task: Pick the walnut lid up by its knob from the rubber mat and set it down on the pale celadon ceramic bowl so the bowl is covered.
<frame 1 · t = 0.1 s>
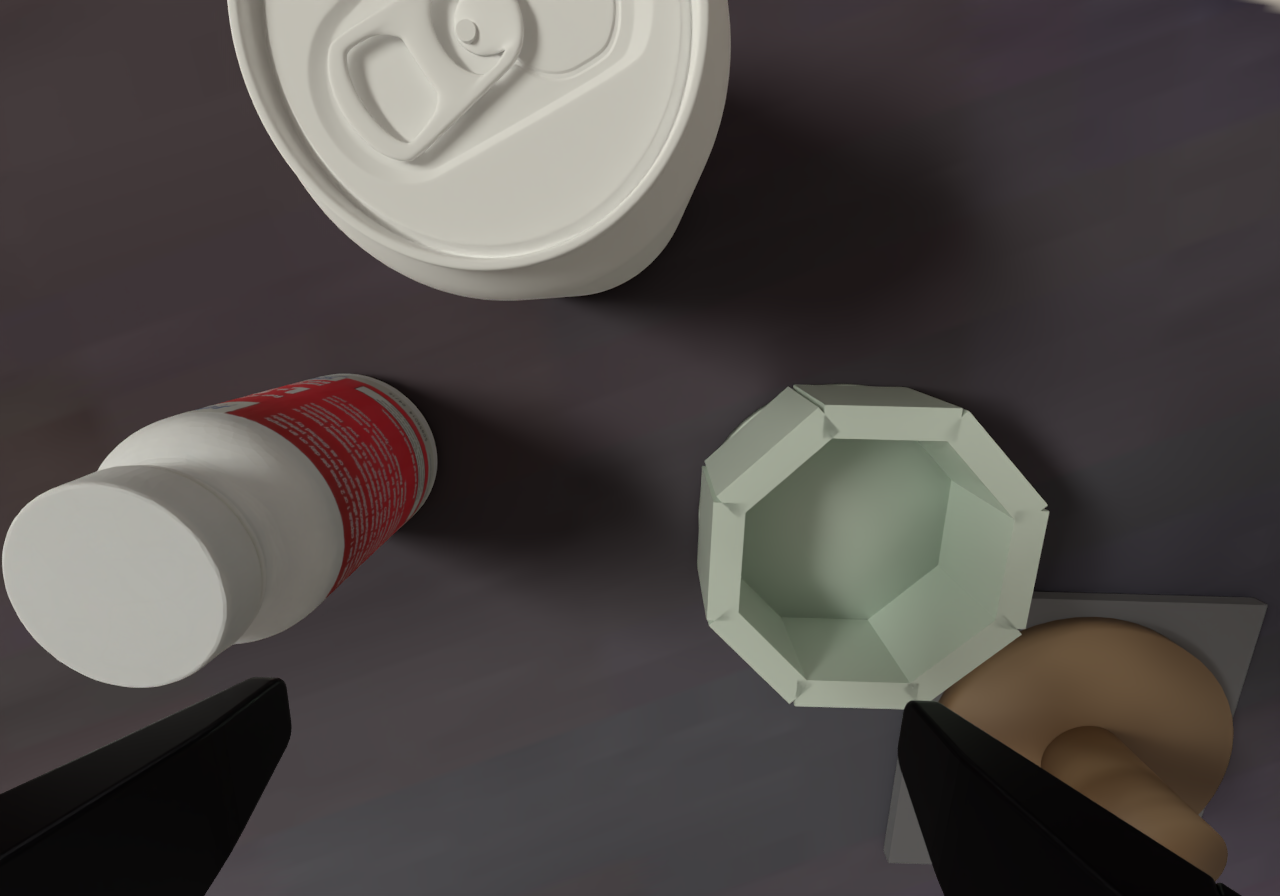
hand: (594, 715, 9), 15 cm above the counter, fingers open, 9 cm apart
bowl: (830, 514, 23), on the counter
mat: (1056, 732, 26), on the counter
beverage can: (570, 173, 21), on the counter
lid: (1065, 742, 25), point 1 cm above the counter, touching mat
pill bottle: (363, 451, 23), on the counter
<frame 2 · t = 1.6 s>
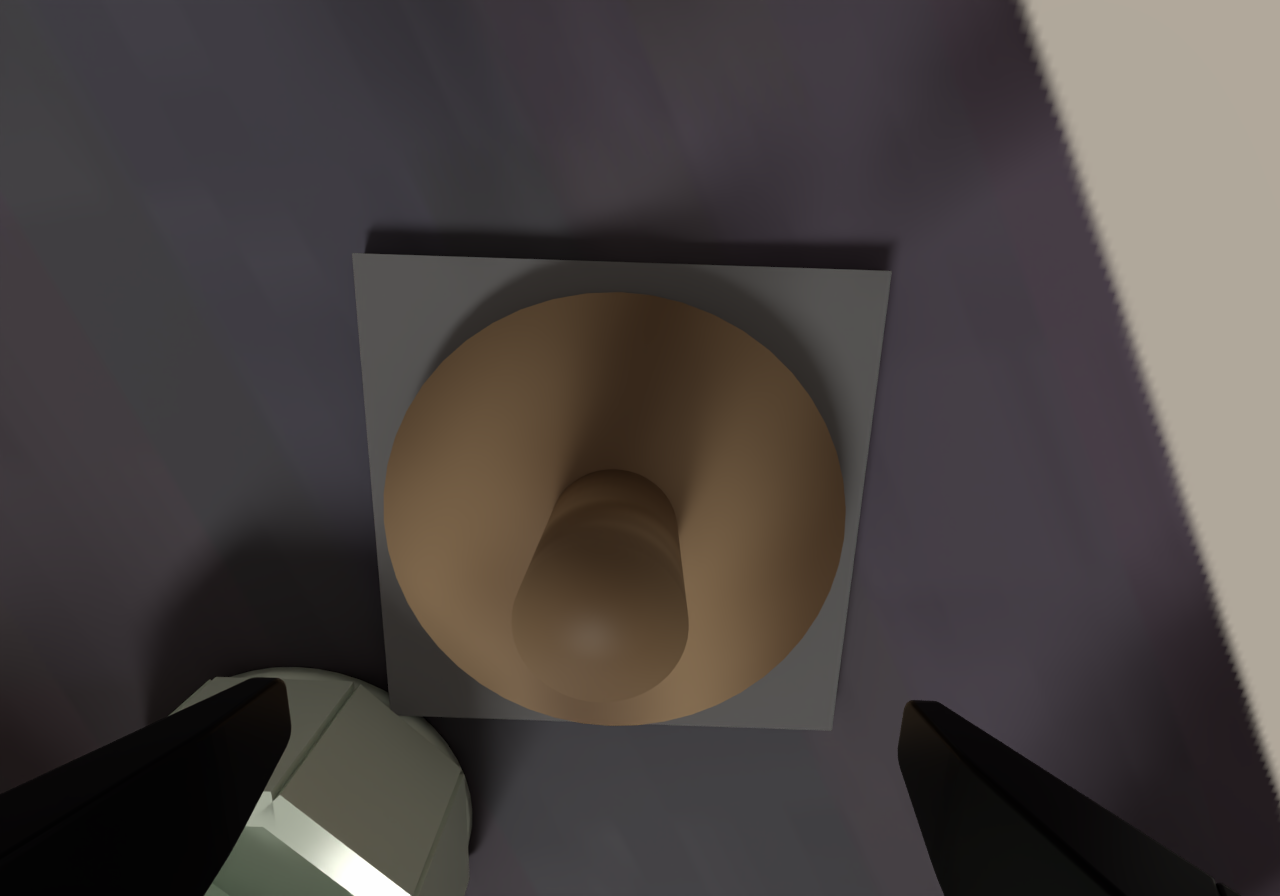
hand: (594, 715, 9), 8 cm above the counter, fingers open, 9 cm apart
bowl: (313, 806, 20), on the counter
mat: (616, 507, 17), on the counter
lid: (615, 515, 16), point 1 cm above the counter, touching mat
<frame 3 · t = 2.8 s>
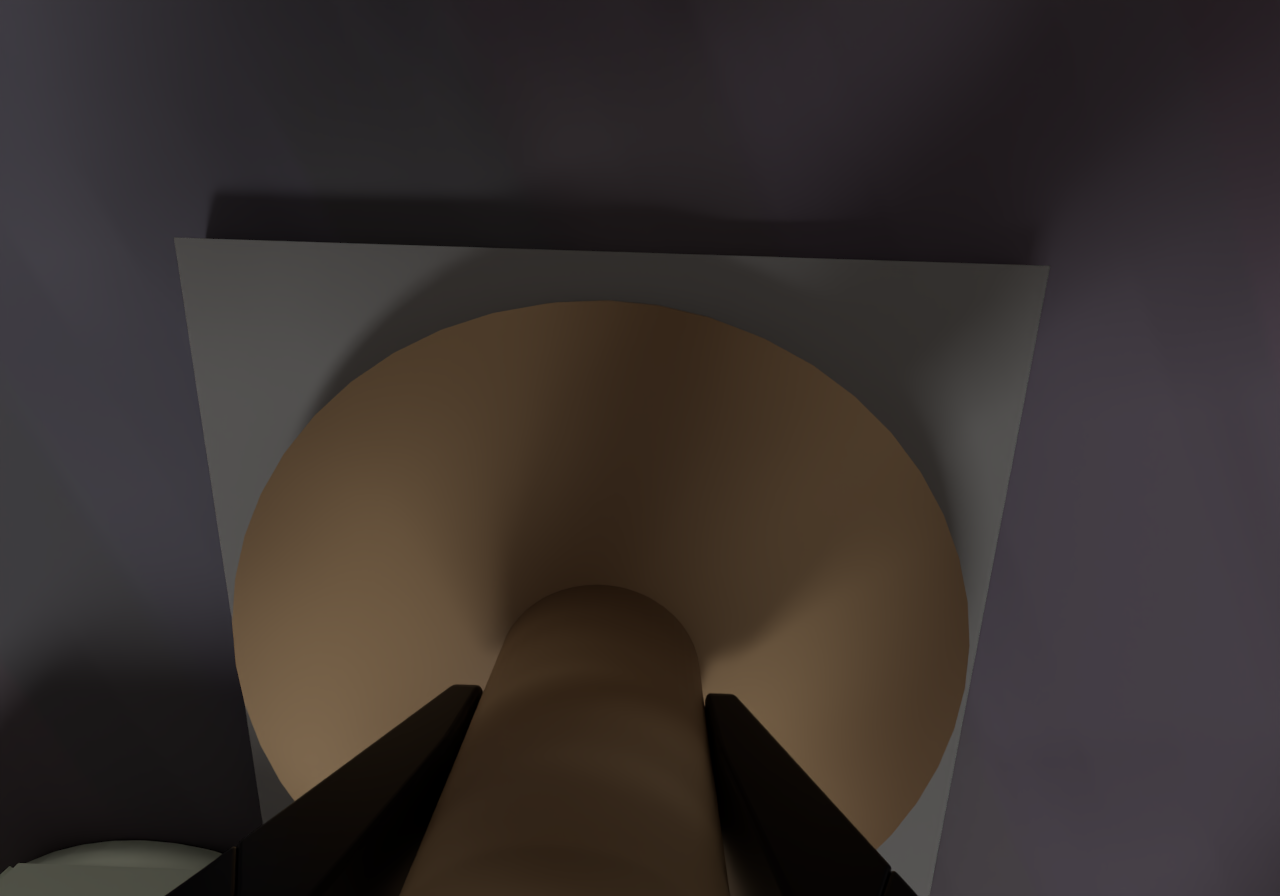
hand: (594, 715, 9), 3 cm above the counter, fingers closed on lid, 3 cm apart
mat: (605, 623, 11), on the counter
lid: (603, 641, 11), point 1 cm above the counter, touching gripper, mat
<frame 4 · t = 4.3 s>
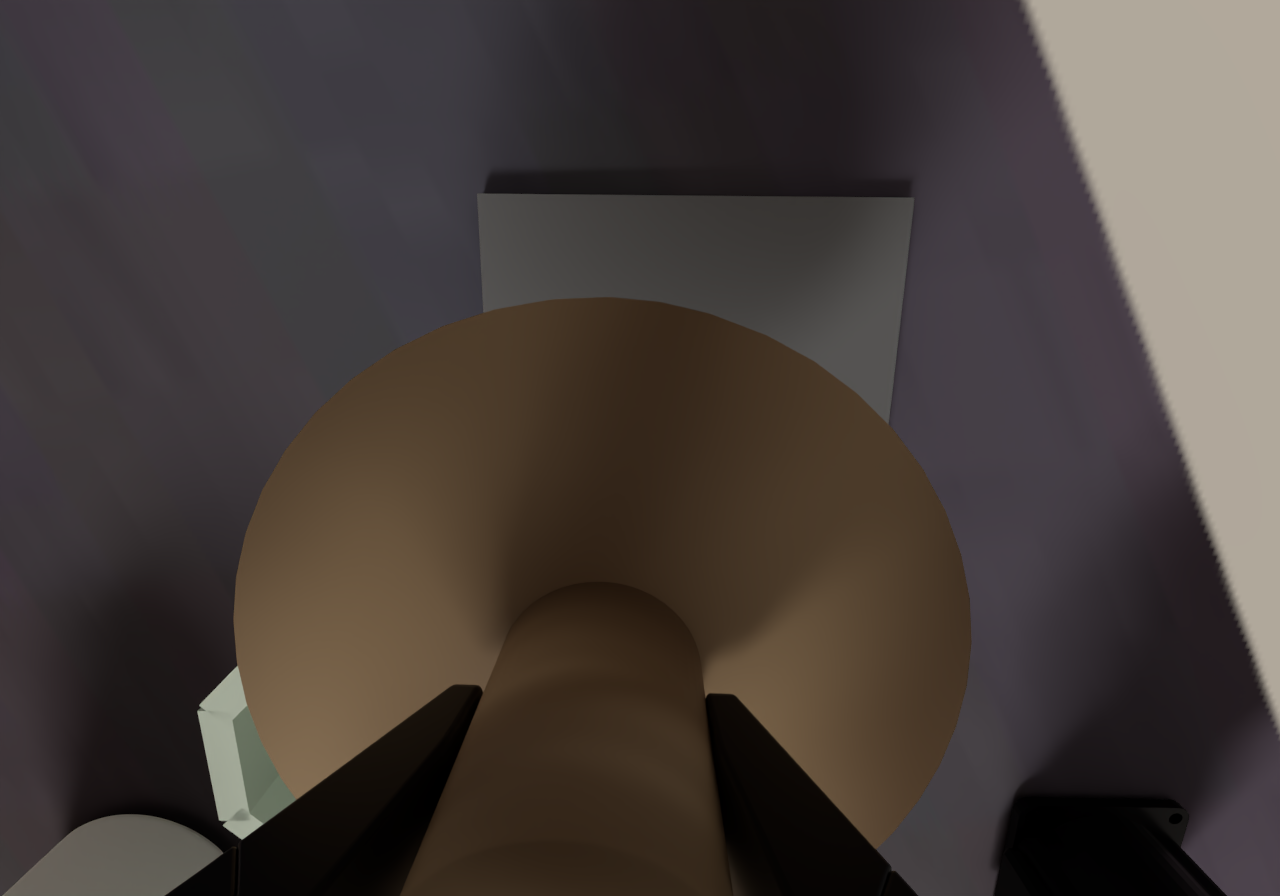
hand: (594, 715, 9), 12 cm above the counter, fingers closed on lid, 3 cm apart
bowl: (427, 677, 23), on the counter
mat: (687, 407, 20), on the counter
beverage can: (165, 875, 26), on the counter
lid: (604, 638, 11), point 11 cm above the counter, touching gripper
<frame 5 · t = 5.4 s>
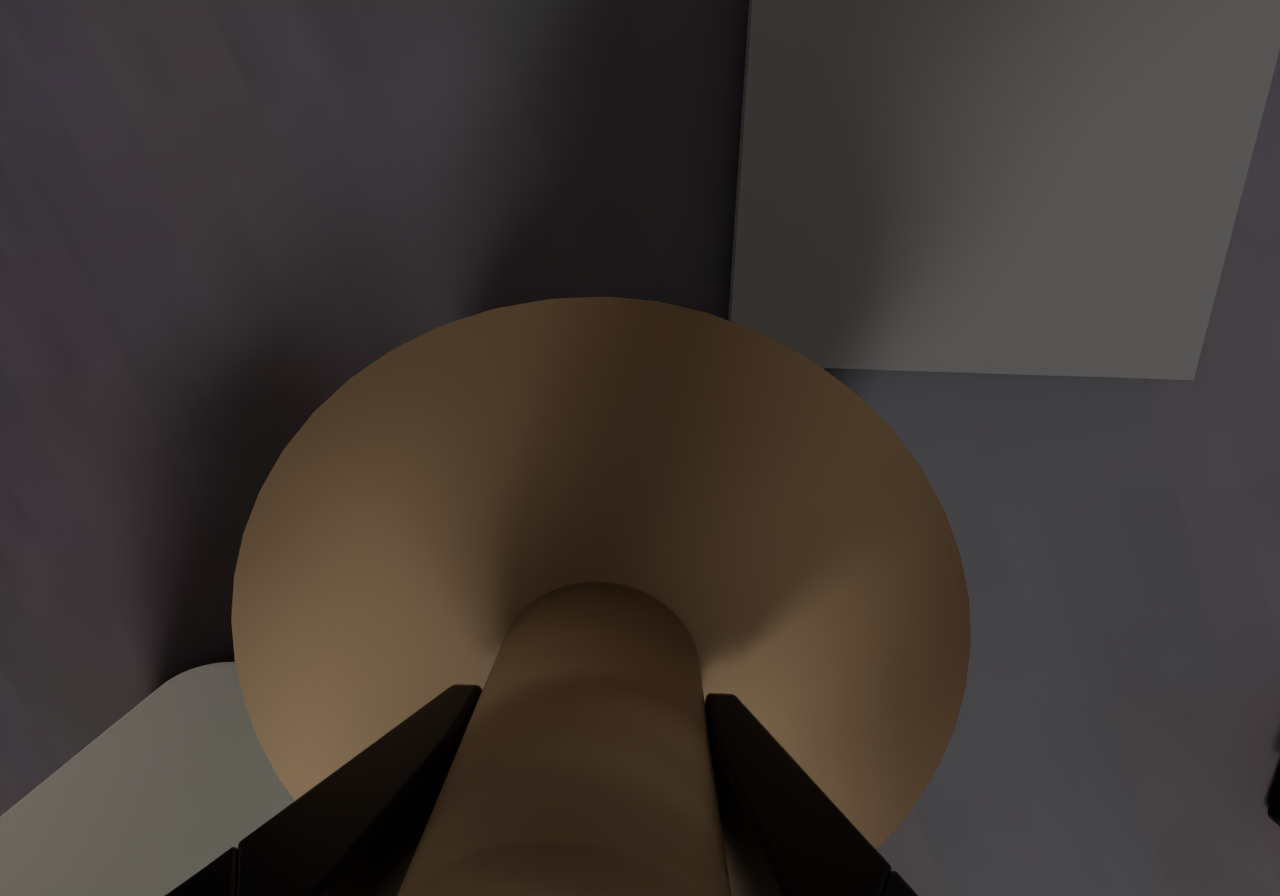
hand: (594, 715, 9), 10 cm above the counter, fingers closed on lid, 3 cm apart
mat: (989, 121, 16), on the counter
beverage can: (270, 748, 21), on the counter
lid: (603, 638, 11), point 8 cm above the counter, touching gripper
when the fingers open (8 cm above the counter, at t = 6.0 s): lid drops 1 cm, resting on bowl.
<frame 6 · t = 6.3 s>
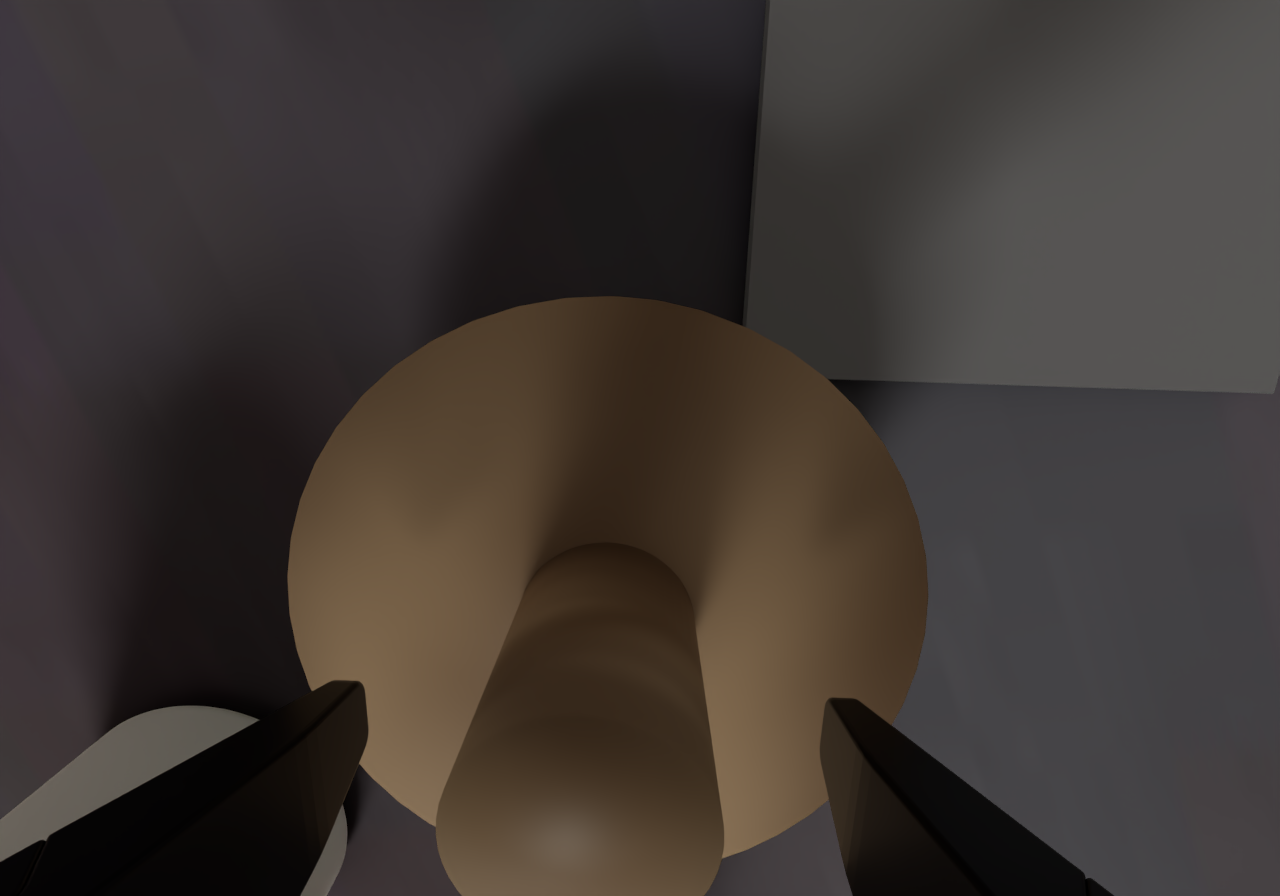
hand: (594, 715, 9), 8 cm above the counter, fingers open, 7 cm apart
mat: (1044, 97, 14), on the counter
beverage can: (233, 797, 19), on the counter
lid: (609, 597, 12), point 5 cm above the counter, touching bowl
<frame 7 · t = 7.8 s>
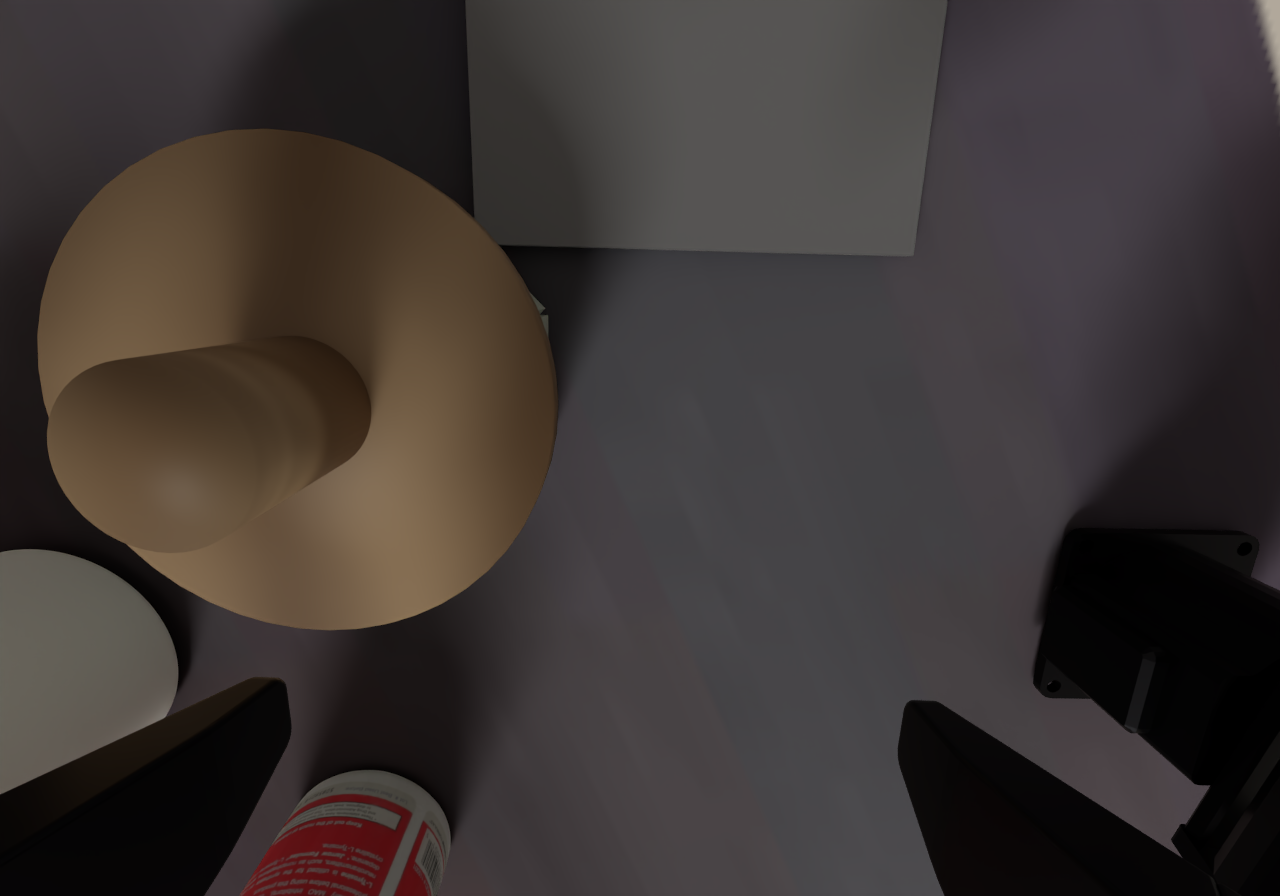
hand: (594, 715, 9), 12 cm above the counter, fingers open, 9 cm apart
mat: (705, 5, 17), on the counter
beverage can: (80, 642, 22), on the counter
lid: (322, 398, 15), point 5 cm above the counter, touching bowl
pill bottle: (379, 822, 24), on the counter
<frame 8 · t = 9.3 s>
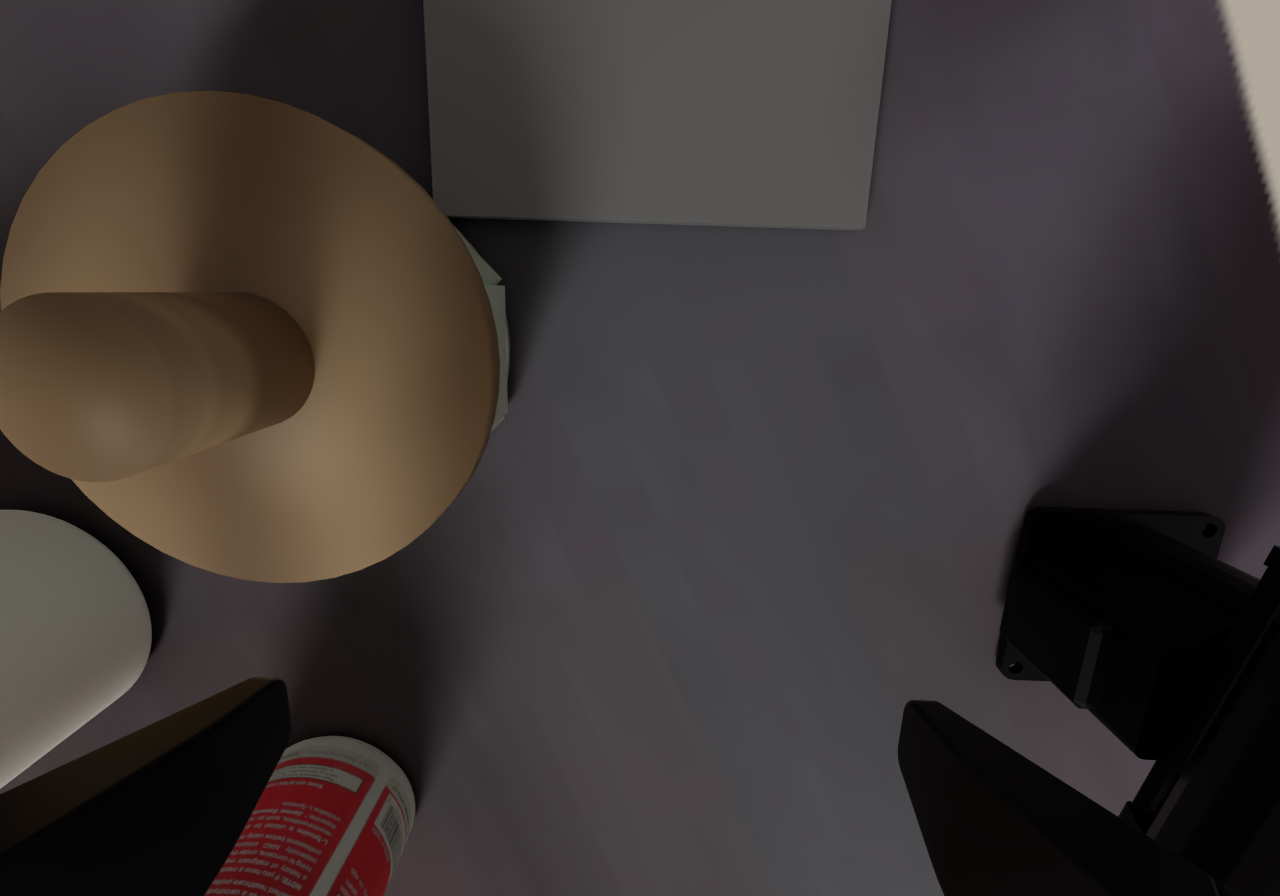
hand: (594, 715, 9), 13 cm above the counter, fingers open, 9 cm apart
bowl: (355, 343, 20), on the counter
beverage can: (61, 603, 23), on the counter
lid: (272, 356, 15), point 5 cm above the counter, touching bowl
pill bottle: (346, 789, 25), on the counter
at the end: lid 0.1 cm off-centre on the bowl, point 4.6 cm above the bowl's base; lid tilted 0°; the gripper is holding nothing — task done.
